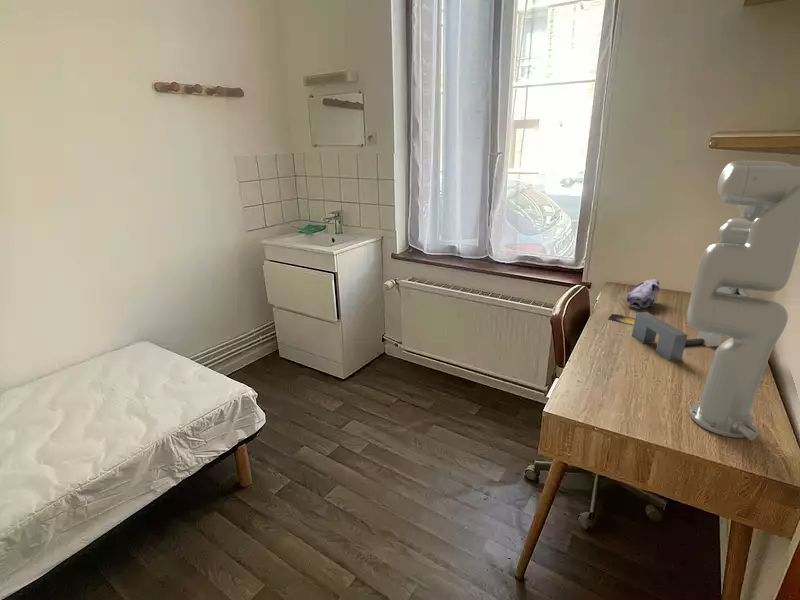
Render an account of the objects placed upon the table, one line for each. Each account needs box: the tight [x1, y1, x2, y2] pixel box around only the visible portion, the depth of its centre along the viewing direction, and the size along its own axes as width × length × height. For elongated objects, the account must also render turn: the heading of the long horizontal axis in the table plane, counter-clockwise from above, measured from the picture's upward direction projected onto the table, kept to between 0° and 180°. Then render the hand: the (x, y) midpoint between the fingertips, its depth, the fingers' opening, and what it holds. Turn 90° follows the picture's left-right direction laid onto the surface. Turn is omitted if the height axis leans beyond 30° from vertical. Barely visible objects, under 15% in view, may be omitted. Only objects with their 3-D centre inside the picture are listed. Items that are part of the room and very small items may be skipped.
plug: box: [685, 331, 723, 348], centre depth 143 cm, size 4×16×4 cm, turn 98°
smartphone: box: [607, 313, 636, 326], centre depth 161 cm, size 7×1×15 cm
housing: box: [631, 311, 688, 362], centre depth 140 cm, size 18×4×8 cm, turn 8°
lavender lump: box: [626, 278, 662, 310], centre depth 174 cm, size 10×18×10 cm, turn 127°
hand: (717, 311), depth 140 cm, fingers open, 9 cm apart
